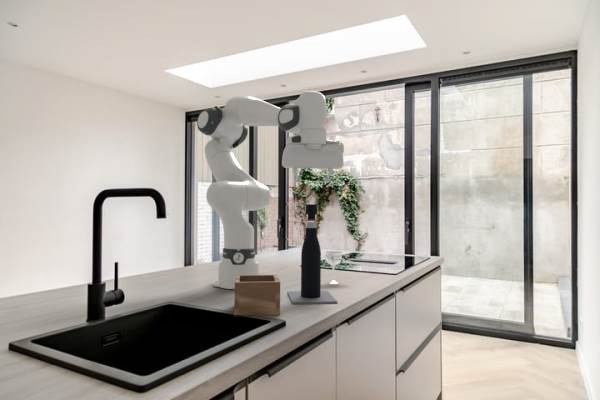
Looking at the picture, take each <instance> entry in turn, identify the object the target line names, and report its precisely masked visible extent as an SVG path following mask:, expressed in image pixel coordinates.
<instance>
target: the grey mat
mask: <svg viewBox="0 0 600 400" xmlns="http://www.w3.org/2000/svg"><path fill="white" fill-rule="evenodd" d="M287 295H288V298H289V299H290V301H291V302H290V303H291V304H292V305H311V304H312V305H315V304H317V305H318V304H319V305H321V304H324V305H325V304H338V300H337V299H336V298H335V297H334V296H333V295H332V294H331V293H330V291H329V290H321V293H320V297H319V298H303V297H301V290H299V291H298V290H297V291H295V290H294V291H291V290H290V291H287Z"/></svg>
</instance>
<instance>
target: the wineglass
mask: <svg viewBox="0 0 600 400" xmlns="http://www.w3.org/2000/svg"><path fill="white" fill-rule="evenodd" d="M324 259H325V262H326V263H327V264H328V265H330V266H331V268H332V270H331V271H332V280H329V281H327V282H326V283H327V284H340V282H339V281H337V280H334V279H335V267H336V265H338V264H340V263H341V261H342V260H343V256H342V251H337V250H334V251H333V250H328V251H325V255H324Z"/></svg>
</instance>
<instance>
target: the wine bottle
mask: <svg viewBox="0 0 600 400" xmlns="http://www.w3.org/2000/svg"><path fill="white" fill-rule="evenodd" d="M305 215H307V222H306V228H305V237H304V239H303V243H302V247H301V254H300V255H301V262H300V263H301V264H300V265H301V267H300V271H301V272H300V291H301V297H303V298H319V297H320V293H321V291H322V290H321V285H322V283H321V282H322V281H321V277H322V275H321V274H322V271H321V270H322V267H321V265H322V261H321V260H322V251H321V245H320V241H319V238H318V228H317V222H315V221H316V215H318V204H313V203H312V204H309V203H308V204H307V203H306V204H305Z"/></svg>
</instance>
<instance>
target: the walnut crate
mask: <svg viewBox="0 0 600 400" xmlns="http://www.w3.org/2000/svg"><path fill="white" fill-rule="evenodd" d="M233 308H234V310H233V311H234V312H233V313H234V317H236V316H235V315H255V316H280V315H281V281H280V279H279V276H278V274H259V275H236V278H235V289H234V307H233Z"/></svg>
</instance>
